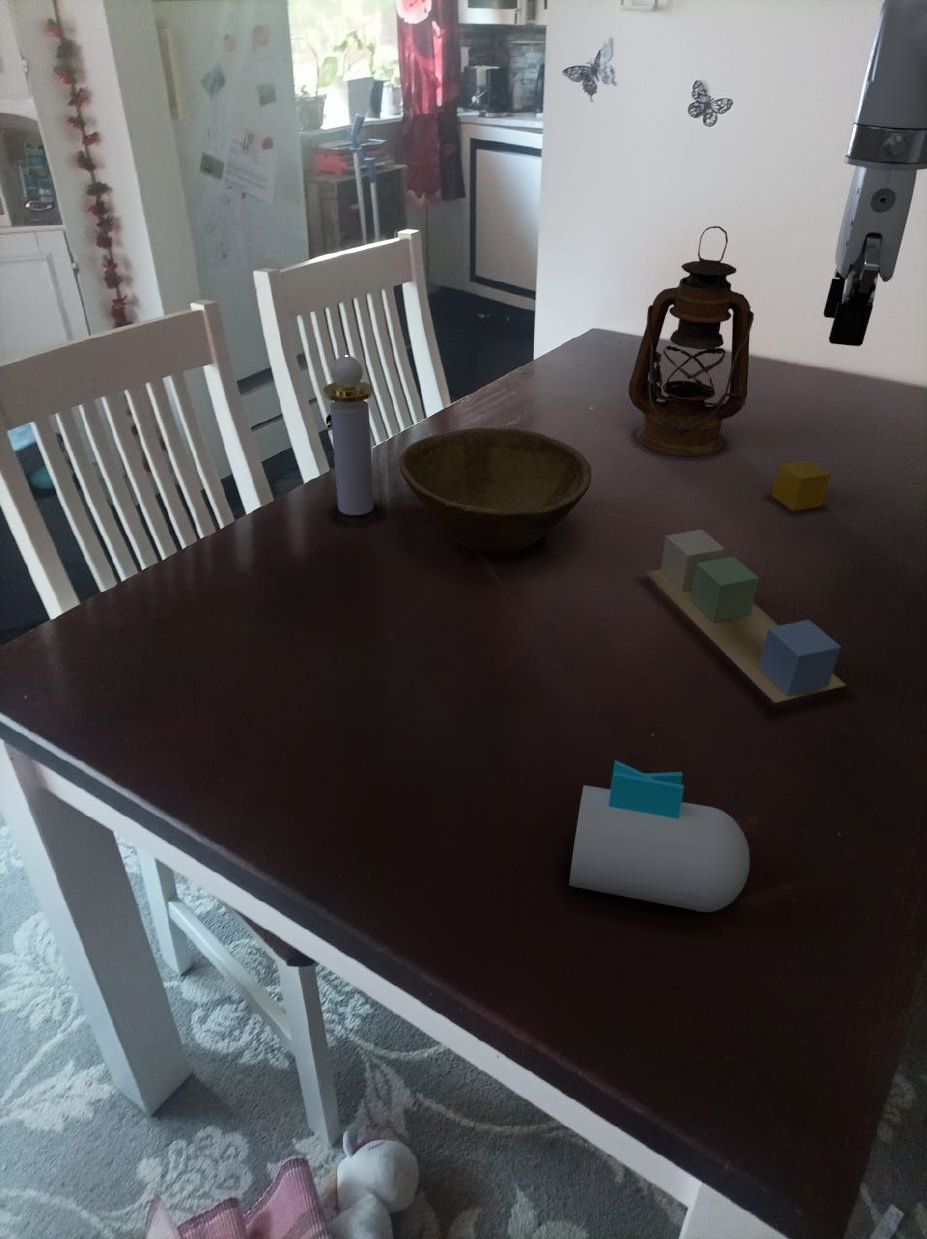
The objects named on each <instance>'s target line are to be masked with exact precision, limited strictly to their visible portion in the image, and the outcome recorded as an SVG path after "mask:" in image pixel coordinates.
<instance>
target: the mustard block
mask: <svg viewBox="0 0 927 1239" xmlns="http://www.w3.org/2000/svg"><path fill="white" fill-rule="evenodd" d="M831 476H832V474H831V473H830V472H829V471H826V470H825V469H823V468H822V467H820V466H818V465H817V464H815V463H814V462H812V461H811V460H810V459H807V460H800V461H794V462H787V463H781V464H778V468H777V472H776V476H775V481H774V485H773V488H772V493H771V497H773V498H774V499H775V500H776V501H778V502H780V503H781V504H783V505H784V506H785V507H787V508H788V509H789V510H791V511H792V512H796V511H801V510H807V509H808V510H809V509H815V508H819V507H820V508H821V507H823V504H824V501H825V499H826V498H825V497H826V493H827V489H828V487H829V483H830V479H831Z"/></svg>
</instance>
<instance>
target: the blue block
mask: <svg viewBox="0 0 927 1239" xmlns="http://www.w3.org/2000/svg"><path fill="white" fill-rule="evenodd" d="M841 648H842V646H841V645H840V644H839V643H837V642H836V641H835V640H834V639H833V638H831V636H829V635H828V634H827V633H825V632H824V631H823V630H822V629H821V628H820V627H818V626H817V625H816V624H815V623H813V621H811V620H810V619H805V620H800V621H795V622H791V623H786V624H782V625H779V626H777V627H772V628H768V631H767V635H766V639H765V643H764V646H763V650H762V654H761V658H760V662H759V666H758V667H759V668H760V669H761V670H762V671H763V672H764V673H765V674H766V675H767V676H768V677H769V678H770V679H771V680H772V681H773V682H774V683H775V684H776V685H777V686H778V687H779V688H780V689H781V690H782V691H783V692H784V693H785V694H786V695H787V696H789V695H793V694H797V693H801V692H805V691H809V690H813V689H818V688H822V687H826V686H828V685H829V682H830V679H831V676H832V673H833V674H834V670H835V666H836V664H837V661H838V658H839V654H840V651H841Z"/></svg>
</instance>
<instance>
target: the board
mask: <svg viewBox="0 0 927 1239" xmlns="http://www.w3.org/2000/svg"><path fill="white" fill-rule="evenodd" d="M660 569H661V568H660ZM660 569H654V570H649V571H645V572H644V573H645V575H647V576H648V577H649V578H650V579H651V581H652V582H654V583H655V584H656V586H658V588H659V589H661V590H662V591H663V593H665V595H666V596H667V597H669V598H670V600H671V601H672V602H674V604H676V605H677V607H678V608H679V609H681V610H682V612H683V613H684V614H685V615H686V616H687V617H688V618H689V619H690V620H691V621H692V622H693V623H694V624H696V626H697V627H698V628H699V629H700V630H701V631H702V632H703V633H704V634H705V635H706V636H707V637H709V639H710V640H711V641H712V642H713V643H714V644H715V645H716V646H717V647H718V648H719V649H720V650H721V651H722V652H723V653H724V654H725V656H727V657H728V658H729V659H730V660H731V661H732V662H733V663H734V664H735V665H736V666H737V667H738V668H739V669H740V670H741V671H742V672H743V674H745V675H746V676H747V677H748V678H749V679H750V680H751V681H752V682H753V683H754V684H755V686H757V687H758V688H759V689H760V690H761V691H762V692H763V693H764V695H766V696H767V697H768V698H769V699H770V700H771V701H772V703H774V704H776V703H780V702H784V701H785V702H786V701H788V700H793V699H797V698H801V697H804V696H809V695H813V694H818V693H821V692H822V693H823V692H825V691H830V690H833V689H834V690H835V689H837V688H842V687H846V685H847V684H846V683H844V681H843V680H841V679H840V678H839V677H838V676H836V674H835V673H834V672H833V673H832V676H831V679H830V682H829V685H828V686H826V687H822V688H818V689H813V690H809V691H805V692H801V693H797V694H793V695H789V696H787V695H786V694H785V693H784V692H783V691H782V690H781V689H780V688H779V687H778V686H777V685H776V684H775V683H774V682H773V681H772V680H771V679H770V678H769V677H768V676H767V675H766V674H765V673H764V672H763V671H762V670H761V669H760V668H759V667H758V666H759V662H760V658H761V654H762V650H763V646H764V643H765V639H766V635H767V631H768V628H772V627H777V626H780V625H779V624H778V623H777V622H776V621H774V620H773V619H772V618H771V617H770V616H769V614H767V613H766V612H764V610H762V609H761V608H760V607H759V606H758V605H757V604H756V603H755V602H754V603H753V607H752V611H751V615H748V616H743V617H738V618H734V619H729V620H724V621H719V622H714V623H713V622H712V621H711V620H710V619H709V618H708V617H707V616H706V615H704V614H703V613H702V612H701V611H700V610H699V609H698V608H697V607H696V606H695V605H694V604H693V603H692V602H691V601H690V594H691V590H688V591H683V592H681V591H680V590H679V589H678V588H677V587H676V586H675V585H674V584H673V583H672V582H671V581H670V580H669V579H668V578H667V577H666V576H665V575H664V574H663V573H662V572H661V571H660Z"/></svg>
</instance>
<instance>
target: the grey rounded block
mask: <svg viewBox="0 0 927 1239" xmlns="http://www.w3.org/2000/svg"><path fill="white" fill-rule="evenodd" d="M682 781H683V772H682V771H675V772H673V771H672V772H651V773H648V772H647V773H646V772H645V773H644V772H642V771H641V770H640V771H639V770H638V769H635V768H633V767H631V766H629V765H626V764H625V763H623V762H620V761H618V760H616V759H615V760H614V764H613V769H612V777H611V783H610V789H609V788H603V787H598V786H591V785H585V784H583V786H582V787H583V788H582V791H581V792H582V793H581V798H580V802H579V803H580V804H579V810H578V817H577V822H576V830H575V836H574V842H573V843H574V844H573V851H572V858H571V864H570V875H569V882H568V886H569V887H574V888H579V889H584V890H588V891H594V892H599V893H605V894H609V895H614V896H620V897H624V898H631V899H635V900H640V901H646V902H650V903H656V904H660V905H665V906H671V907H675V908H681V909H687V910H692V911H696V912H698V913H699V912H701V913H710V912H711V913H712V912H713V913H714V912H717V911H719V910H723V909H724V908H725V907H728V906H729V905H731V904H732V903H733V902H735V900H736V899H737V897H738V896H739V895H740V894H741V893H742V891H743V889H744V888H745V884H746V882H747V879H748V876H749V872H750V865H751V862H750V861H751V860H750V858H751V857H750V849H749V844H748V841H747V839H746V836H745V834H744V833H745V832H744V831H743V830H742V828H741V827H740V825H739V824H738V823H737V821H736V820H735V819H734V818H733V817H732V816H730V815H729V814H728V813H727V812H725V811H723V810H721V809H719V808H716V807H713V806H708V805H701V804H695V803H689V802H686V801H685V802H684V801H683V795H684V791H685V787H684V784H682Z"/></svg>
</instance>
